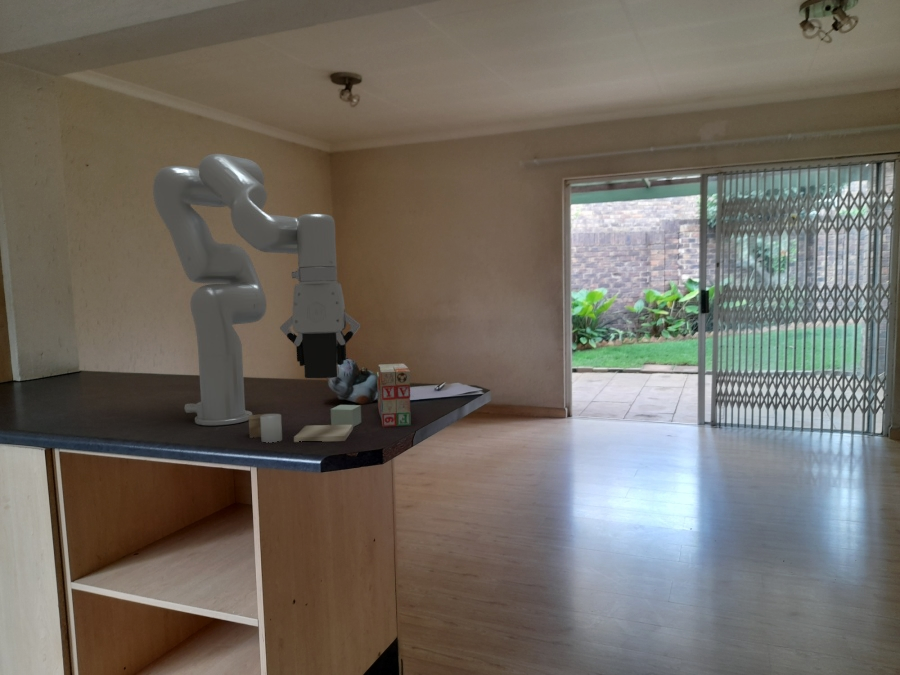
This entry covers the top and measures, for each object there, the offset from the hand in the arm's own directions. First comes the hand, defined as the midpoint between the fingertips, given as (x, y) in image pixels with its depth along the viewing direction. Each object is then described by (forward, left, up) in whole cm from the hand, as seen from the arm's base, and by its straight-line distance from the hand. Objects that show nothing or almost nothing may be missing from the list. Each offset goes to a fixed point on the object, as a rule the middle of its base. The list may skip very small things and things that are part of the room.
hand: (322, 364), depth 125 cm
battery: (0, 0, -3) cm, 3 cm away
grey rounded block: (-10, -3, -15) cm, 18 cm away
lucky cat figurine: (0, +39, -15) cm, 41 cm away
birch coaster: (0, 0, -15) cm, 15 cm away
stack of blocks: (+12, +18, -15) cm, 26 cm away
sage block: (+3, +10, -15) cm, 18 cm away
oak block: (-14, +2, -15) cm, 21 cm away
